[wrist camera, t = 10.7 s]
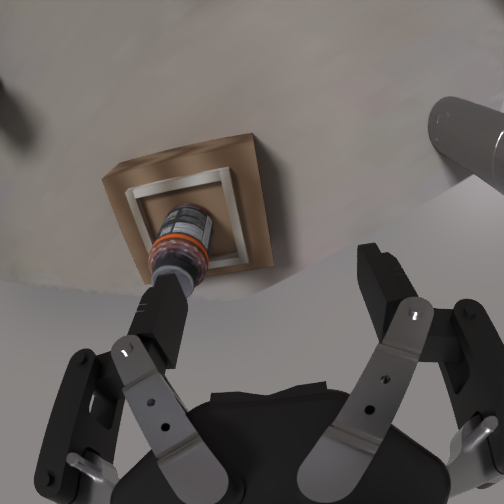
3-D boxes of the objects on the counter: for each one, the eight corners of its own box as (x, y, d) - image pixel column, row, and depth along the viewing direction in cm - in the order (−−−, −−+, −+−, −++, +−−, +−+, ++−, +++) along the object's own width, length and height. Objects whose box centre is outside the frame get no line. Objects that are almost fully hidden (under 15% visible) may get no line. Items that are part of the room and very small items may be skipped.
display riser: (252, 132, 35) (254, 147, 30) (270, 241, 44) (274, 272, 38) (119, 163, 37) (97, 183, 31) (154, 259, 46) (142, 290, 40)
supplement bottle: (198, 253, 38) (184, 318, 28) (157, 229, 36) (129, 290, 26) (224, 218, 35) (217, 279, 26) (181, 191, 33) (156, 245, 24)
